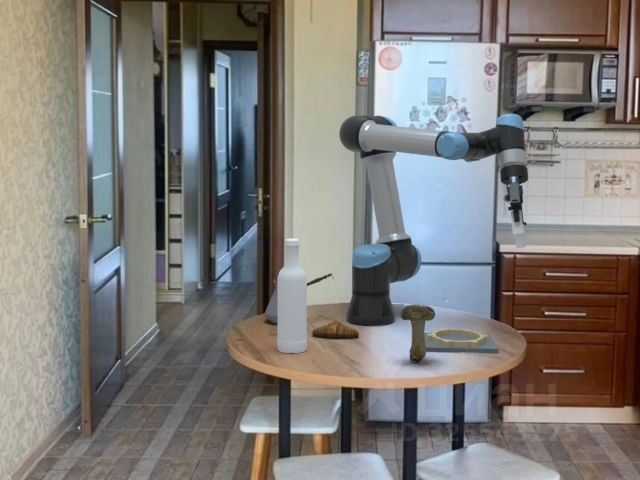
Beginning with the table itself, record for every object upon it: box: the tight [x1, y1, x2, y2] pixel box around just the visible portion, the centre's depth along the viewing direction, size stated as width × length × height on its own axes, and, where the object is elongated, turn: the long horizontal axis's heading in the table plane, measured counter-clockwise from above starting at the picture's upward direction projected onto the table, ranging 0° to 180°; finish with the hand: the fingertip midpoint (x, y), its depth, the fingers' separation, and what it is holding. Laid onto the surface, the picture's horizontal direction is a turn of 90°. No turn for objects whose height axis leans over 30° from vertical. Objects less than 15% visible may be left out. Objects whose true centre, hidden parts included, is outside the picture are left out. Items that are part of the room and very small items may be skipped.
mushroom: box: [400, 303, 436, 363], centre depth 199 cm, size 9×9×15 cm
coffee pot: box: [264, 273, 335, 325], centre depth 243 cm, size 21×12×15 cm, turn 95°
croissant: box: [311, 320, 360, 339], centre depth 225 cm, size 14×7×5 cm, turn 83°
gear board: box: [424, 328, 500, 354], centre depth 217 cm, size 20×16×3 cm
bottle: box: [276, 238, 308, 354], centre depth 209 cm, size 8×8×30 cm
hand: (519, 241), depth 214 cm, fingers open, 13 cm apart
